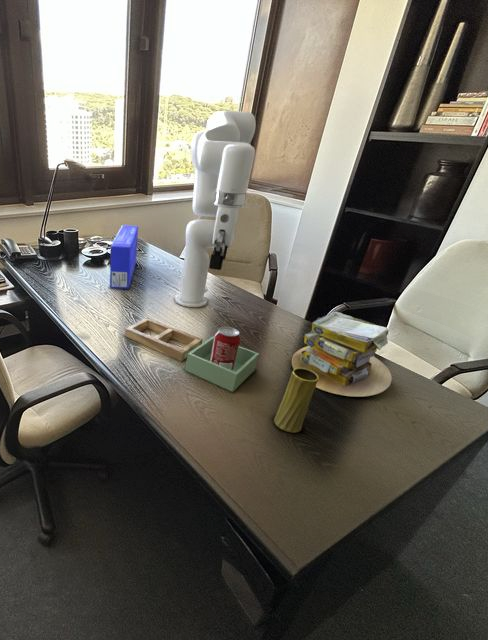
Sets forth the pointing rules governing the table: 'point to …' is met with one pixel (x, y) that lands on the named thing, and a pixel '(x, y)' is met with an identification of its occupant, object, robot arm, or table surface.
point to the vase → (296, 400)
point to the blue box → (123, 257)
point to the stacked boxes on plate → (345, 356)
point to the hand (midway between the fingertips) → (217, 263)
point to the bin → (217, 374)
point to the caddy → (163, 338)
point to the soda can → (225, 347)
